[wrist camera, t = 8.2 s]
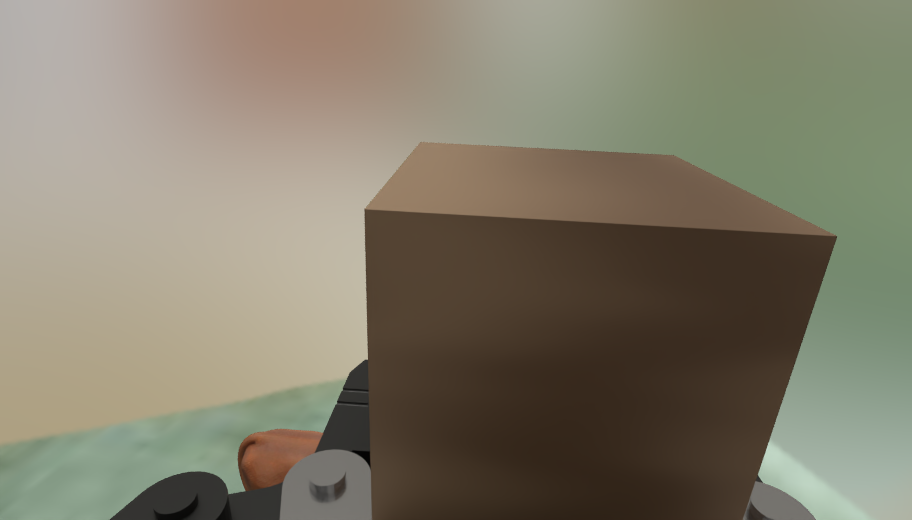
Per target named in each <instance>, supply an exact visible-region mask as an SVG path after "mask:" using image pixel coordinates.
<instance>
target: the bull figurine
mask: <svg viewBox="0 0 912 520" xmlns="http://www.w3.org/2000/svg"><path fill="white" fill-rule="evenodd" d="M322 435H323V433H320V432H315V431H301V430H290V429H275V430H270V431H266V432H257V433H254V434H251V435H249V436H248V437H247V438H245V439H244V440H243V442H242V443H241V445H240V448H239V452H238V467H239V472H240V476H241V480H242V483H243V485H244V488H245V490H246V491H250V490H256V489H261V488H266V487H270V486H273V485H276V484H279V483H281V482H283V481H284V479H285V476H286V475H287V473H288V472H289V470H290V469H291V468H292V467H293V466H294V465H295V464H296V463H297V462H299V461H300V460H302V459H303V458H305V457H307V456H309V455H311V454H313V453H315V451H316V448H317V446H318V444H319V442H320V439H321V437H322Z"/></svg>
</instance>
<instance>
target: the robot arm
mask: <svg viewBox="0 0 912 520" xmlns="http://www.w3.org/2000/svg"><path fill="white" fill-rule="evenodd" d="M110 520H372V505H371V463H370V421H369V378H368V360H364V361H363V362H362V363H361V364H359V365H358V366H357V367H356V368H355V369H354V370H352V371H351V372H350V373H349V376H348V378H347V380H346V383H345V385H344V387H343V391H342V392H341V394H340V396H339V398H338V401H337V404H336V405H335V408H334V410H333V412H332V414H331V417H330V419H329V421H328V423H327V426H326V428H325V430H324V433H323V435H322V437H321V439H320V442H319V444H318V446H317V448H316V451H315V453H313V454H311V455H309V456H307V457H305V458H303V459H302V460H300V461H299V462H297V463H296V464H295V465H294V466H293V467H292V468H291V469H290V470H289V472H288V473H287V475H286V476H285V479H284V481H283V482H281V483H279V484H276V485H273V486H270V487H266V488H261V489H256V490H250V491H245V492H239V493H234V494H228V490H227V487H226V484H225V483H224V482H223V480H222V479H220V478H219V477H218V476H216V475H214V474H211V473H207V472H186V473H181V474H177V475H173V476H171V477H168V478H165V479H163V480H161V481H159V482H157V483H155V484H154V485H152V486H150V487H149V488H147V489H146V490H145V491H143V492H142V493H141V494H140V495H138V496H137V497H136V498H135V499H134V500H133V501H131V502H130V503H129V504H128V505H127V506H125V507H124V508H123V509H122V510H121V511H119V512H118V513H117V514H116V515H115V516H113V517H112V518H111V519H110ZM743 520H816V519H815V518H814V516H813V515H812V514H811V513H810V512H809V511H808V509H806V508H805V507H804V506H803V505H802V504H801V503H800V502H798V501H797V500H796V499H794V498H793V497H791V496H790V495H788V494H787V493H785V492H783V491H781V490H779V489H777V488H775V487H773V486H770V485H767V484H764V483H763V482H762V481H761V479H760V478H759V476H758V475H757V478H756V481H755V484H754V487H753V490H752V493H751V496H750V499H749V502H748V505H747V508H746V511H745V514H744V517H743Z"/></svg>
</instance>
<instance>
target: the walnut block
mask: <svg viewBox="0 0 912 520" xmlns="http://www.w3.org/2000/svg"><path fill="white" fill-rule="evenodd" d="M836 238H837V236H836V235H834V234H832V233H830V232H827V231H825V230H824V229H822V228H820V227H818V226H816V225H813V224H811V223H809V222H807V221H805V220H803V219H801V218H799V217H797V216H795V215H793V214H791V213H789V212H787V211H785V210H783V209H781V208H779V207H777V206H775V205H773V204H771V203H769V202H767V201H765V200H763V199H761V198H759V197H757V196H755V195H753V194H751V193H749V192H747V191H745V190H743V189H741V188H739V187H737V186H735V185H733V184H730V183H729V182H727V181H725V180H723V179H721V178H719V177H716V176H714V175H712V174H710V173H708V172H706V171H704V170H702V169H700V168H698V167H696V166H694V165H692V164H690V163H688V162H686V161H684V160H682V159H680V158H678V157H676V156H674V155H657V154H639V153H638V154H637V153H618V152H599V151H580V150H561V149H542V148H523V147H504V146H485V145H465V144H445V143H426V142H420V143H419V145H418V146H417V147H416V148H415V149H414V150H413V152H412V153H411V154H410V155H409V156H408V158H407V159H406V160H405V161H404V163H403V164H402V165H401V166H400V167H399V169H398V170H397V171H396V172H395V174H394V175H393V176H392V177H391V178H390V179H389V181H388V182H387V183H386V184H385V185H384V187H383V188H382V189H381V190H380V191H379V193H378V194H377V195H376V196H375V197H374V199H373V200H372V201H371V202H370V203H369V205H368V206H367V207H366V208H365V251H366V291H367V336H368V378H369V421H370V463H371V505H372V520H743V517H744V514H745V511H746V508H747V505H748V502H749V499H750V496H751V493H752V490H753V487H754V484H755V481H756V478H757V475H758V472H759V469H760V466H761V463H762V460H763V457H764V454H765V451H766V448H767V445H768V442H769V439H770V436H771V433H772V430H773V427H774V424H775V421H776V418H777V415H778V412H779V409H780V406H781V403H782V400H783V397H784V394H785V391H786V388H787V385H788V382H789V379H790V376H791V373H792V370H793V367H794V364H795V361H796V358H797V355H798V352H799V349H800V346H801V343H802V340H803V337H804V334H805V331H806V328H807V325H808V322H809V319H810V316H811V313H812V310H813V307H814V304H815V301H816V298H817V295H818V293H819V290H820V286H821V284H822V281H823V277H824V275H825V272H826V269H827V265H828V263H829V260H830V256H831V254H832V251H833V248H834V245H835V242H836Z"/></svg>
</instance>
